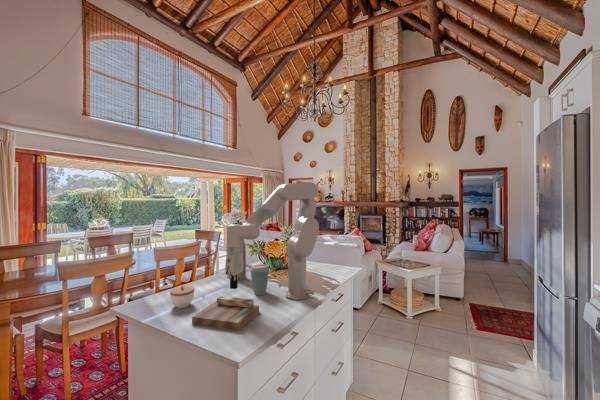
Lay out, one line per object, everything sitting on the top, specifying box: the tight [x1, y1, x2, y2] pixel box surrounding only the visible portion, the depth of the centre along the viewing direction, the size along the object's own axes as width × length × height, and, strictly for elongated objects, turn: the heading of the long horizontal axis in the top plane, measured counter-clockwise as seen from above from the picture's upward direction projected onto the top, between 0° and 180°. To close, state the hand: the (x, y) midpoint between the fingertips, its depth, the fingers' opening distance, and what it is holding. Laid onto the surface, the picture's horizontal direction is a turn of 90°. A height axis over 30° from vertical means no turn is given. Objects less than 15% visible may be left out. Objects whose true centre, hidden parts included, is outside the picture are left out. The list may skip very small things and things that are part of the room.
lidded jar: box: [169, 285, 195, 309], centre depth 132 cm, size 11×11×9 cm
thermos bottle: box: [238, 239, 247, 281], centre depth 176 cm, size 8×8×28 cm
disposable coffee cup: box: [250, 264, 271, 296], centre depth 149 cm, size 11×11×15 cm
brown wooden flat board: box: [191, 300, 260, 331], centre depth 119 cm, size 22×18×3 cm
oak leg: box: [216, 295, 255, 308], centre depth 124 cm, size 17×3×3 cm, turn 74°
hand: (233, 288), depth 131 cm, fingers closed
